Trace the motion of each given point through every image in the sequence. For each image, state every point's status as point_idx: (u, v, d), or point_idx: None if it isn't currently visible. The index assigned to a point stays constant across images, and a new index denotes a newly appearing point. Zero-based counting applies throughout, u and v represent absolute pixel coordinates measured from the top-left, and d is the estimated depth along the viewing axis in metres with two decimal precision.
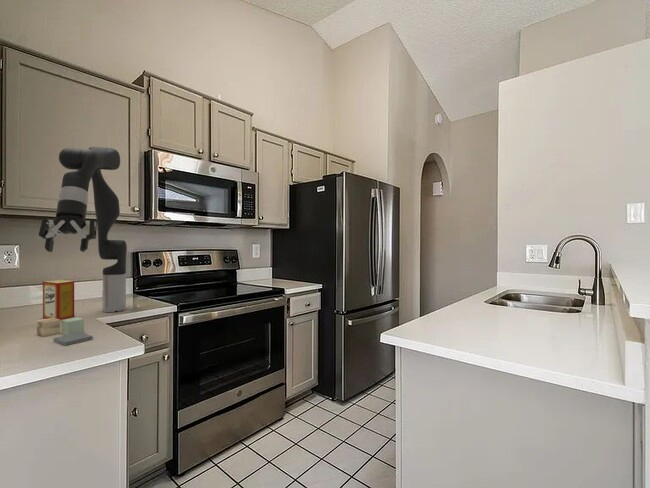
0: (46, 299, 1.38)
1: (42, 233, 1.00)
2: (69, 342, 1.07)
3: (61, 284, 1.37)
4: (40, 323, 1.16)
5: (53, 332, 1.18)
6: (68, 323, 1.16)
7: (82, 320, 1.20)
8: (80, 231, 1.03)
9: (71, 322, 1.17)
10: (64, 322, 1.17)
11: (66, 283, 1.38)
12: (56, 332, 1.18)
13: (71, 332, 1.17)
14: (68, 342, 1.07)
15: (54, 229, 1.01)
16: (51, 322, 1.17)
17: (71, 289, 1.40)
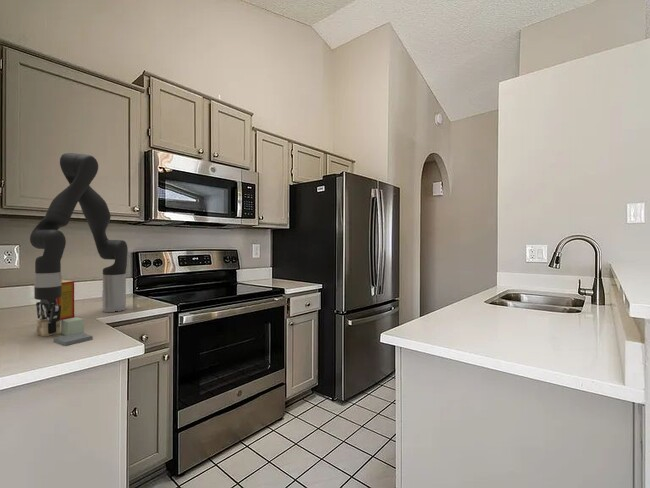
0: None
1: (38, 316, 1.19)
2: (69, 342, 1.07)
3: None
4: (40, 323, 1.16)
5: None
6: (68, 323, 1.16)
7: (82, 320, 1.20)
8: (46, 316, 1.16)
9: (71, 322, 1.17)
10: (64, 322, 1.17)
11: (66, 283, 1.38)
12: (56, 332, 1.18)
13: (71, 332, 1.17)
14: (68, 342, 1.07)
15: (39, 313, 1.18)
16: None
17: (71, 289, 1.40)
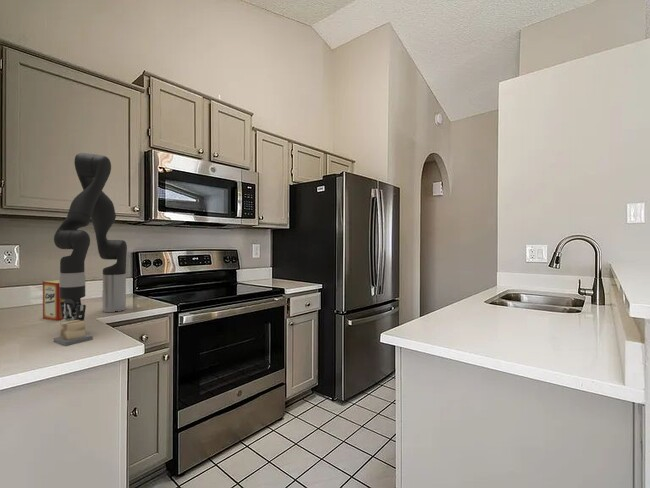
0: (46, 299, 1.38)
1: (62, 315, 1.21)
2: (69, 342, 1.07)
3: None
4: (65, 326, 1.09)
5: (78, 335, 1.10)
6: None
7: None
8: (71, 316, 1.17)
9: None
10: None
11: None
12: (81, 335, 1.11)
13: None
14: (68, 342, 1.07)
15: (64, 312, 1.19)
16: (76, 325, 1.10)
17: None
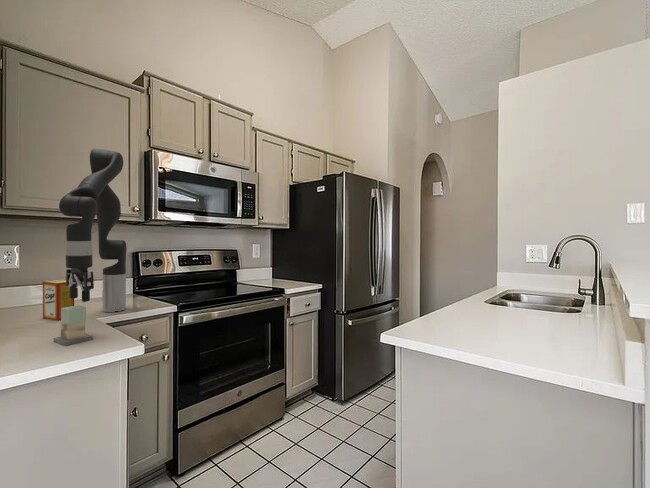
0: (46, 299, 1.38)
1: (67, 283, 1.17)
2: (69, 342, 1.07)
3: (61, 284, 1.37)
4: (65, 325, 1.09)
5: (78, 335, 1.10)
6: (69, 311, 1.08)
7: (84, 308, 1.12)
8: (79, 284, 1.12)
9: (73, 310, 1.09)
10: (65, 310, 1.09)
11: None
12: (81, 335, 1.11)
13: (72, 321, 1.09)
14: (68, 342, 1.07)
15: (69, 281, 1.15)
16: (76, 325, 1.10)
17: None
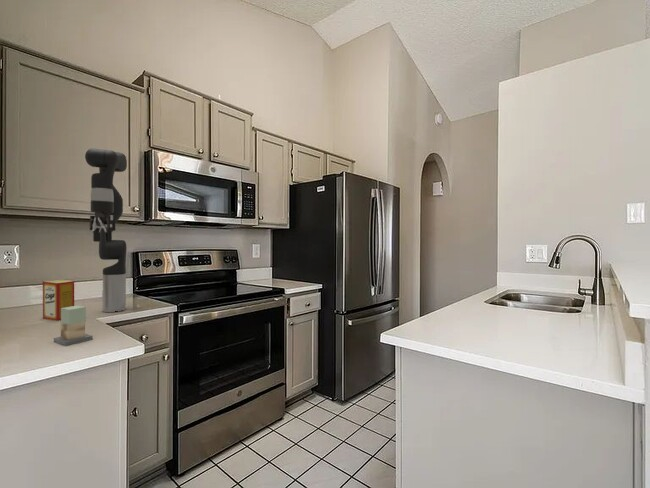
0: (46, 299, 1.38)
1: (90, 228, 1.31)
2: (69, 342, 1.07)
3: (61, 284, 1.37)
4: (65, 326, 1.09)
5: (78, 335, 1.10)
6: (69, 311, 1.08)
7: (84, 308, 1.12)
8: (102, 226, 1.26)
9: (72, 310, 1.09)
10: (64, 310, 1.09)
11: (66, 283, 1.38)
12: (81, 335, 1.11)
13: (72, 321, 1.09)
14: (68, 342, 1.07)
15: (93, 225, 1.29)
16: (76, 325, 1.10)
17: (71, 289, 1.40)
